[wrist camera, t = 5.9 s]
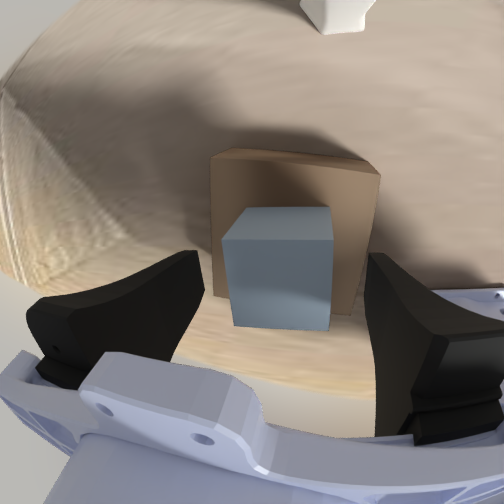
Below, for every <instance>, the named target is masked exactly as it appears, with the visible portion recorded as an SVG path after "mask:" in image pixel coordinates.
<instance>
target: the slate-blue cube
mask: <svg viewBox="0 0 504 504" xmlns="http://www.w3.org/2000/svg"><path fill="white" fill-rule="evenodd" d="M221 241H222V248H223V255H224V262H225V269H226V276H227V283H228V290H229V296H230V303H231V309H232V316H233V322H234V326H240V327H254V328H270V329H289V330H317V331H329V321H330V308H331V292H332V273H333V246H334V239H333V229H332V220H331V211H330V207H249V208H246V209H245V210H244V211H243V213H242V214H241V215H240V216H239V218H238V219H237V220H236V221H235V223H234V224H233V225H232V226H231V228H230V229H229V230H228V232H227V233H226V234H225V235H224V237H223V238H222V239H221Z"/></svg>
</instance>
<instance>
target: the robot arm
mask: <svg viewBox="0 0 504 504" xmlns="http://www.w3.org/2000/svg"><path fill="white" fill-rule="evenodd" d="M204 291H205V288H204V283H203V278H202V273H201V267H200V262H199V257H198V252H197V250H184V251H181V252H178V253H176V254H174V255H172V256H169V257H167V258H165V259H163V260H161V261H159V262H158V263H156V264H154V265H152V266H150V267H148V268H145V269H143V270H141V271H139V272H137V273H135V274H133V275H131V276H128V277H126V278H124V279H121V280H119V281H116V282H113V283H110V284H108V285H104V286H101V287H97V288H94V289H91V290H87V291H82V292H78V293H72V294H67V295H59V296H50V297H43V298H41V299H39V300H38V301H37V302H36V303H35V304H34V305H33V306H31V307H30V308H29V309H28V310H27V312H26V320H27V324H28V327H29V329H30V331H31V333H32V335H33V337H34V338H35V340H36V342H37V343H38V345H39V347H40V348H41V350H42V352H43V354H44V355H45V356H44V358H43V359H42V360H40V359H39V358H38V357H37V356H35V355H33V354H31V353H29V352H27V351H25V350H22V351H21V352H20V353H19V354H18V355H17V356H16V357H15V358H14V359H13V360H12V361H11V363H10V364H9V365H8V366H7V367H6V368H5V369H4V371H2V373H1V374H0V398H1V399H2V400H3V401H4V402H5V403H6V405H7V406H8V407H9V408H10V409H11V410H12V412H13V413H14V414H15V415H16V416H17V417H18V418H19V419H20V420H21V421H22V422H23V423H24V424H25V425H26V426H28V427H29V428H30V429H32V430H33V431H34V432H36V433H37V434H38V435H40V436H41V437H42V438H44V439H45V440H47V441H48V442H49V443H51V444H52V445H54V446H55V447H57V448H58V449H60V450H61V451H62V452H64V453H65V454H67V455H68V456H70V459H69V461H68V462H67V464H66V466H65V467H64V469H63V471H62V472H61V474H60V476H59V477H58V479H57V481H56V482H55V484H54V486H53V488H52V489H51V491H50V493H49V495H48V496H47V498H46V500H45V502H44V503H43V504H504V288H486V289H456V290H430V289H428V288H427V287H425V286H424V285H422V284H421V283H420V282H418V281H417V280H416V279H414V278H413V277H412V276H410V275H409V274H408V273H407V272H406V271H404V270H403V269H402V268H401V267H400V266H398V265H397V264H396V263H395V262H394V261H393V260H392V259H390V258H389V257H388V256H387V255H385V254H384V253H369V255H368V265H367V274H366V283H365V291H364V304H365V315H366V320H367V325H368V330H369V335H370V340H371V345H372V350H373V356H374V363H375V377H376V419H375V437H366V438H334V437H329V436H323V435H318V434H313V433H309V432H304V431H299V430H295V429H291V428H287V427H282V426H279V425H275V424H271V423H267V422H265V421H264V418H263V411H262V404H261V402H260V401H259V399H258V397H257V396H256V394H255V392H254V390H253V389H252V388H251V387H249V386H247V385H246V384H244V383H243V382H241V381H240V380H238V379H237V378H235V377H234V376H232V375H228V374H225V373H222V372H218V371H215V370H212V369H206V368H200V367H194V366H188V365H182V364H176V363H171V362H170V361H171V358H172V356H173V353H174V351H175V349H176V347H177V345H178V343H179V341H180V340H181V338H182V336H183V334H184V333H185V331H186V329H187V327H188V326H189V324H190V322H191V320H192V319H193V317H194V315H195V313H196V311H197V309H198V308H199V305H200V302H201V300H202V297H203V294H204ZM496 294H497V295H496ZM495 295H496V296H495Z"/></svg>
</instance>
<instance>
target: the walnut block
mask: <svg viewBox="0 0 504 504" xmlns="http://www.w3.org/2000/svg"><path fill="white" fill-rule="evenodd" d="M380 178H381V175H380V174H379V172H378V171H377V170H376V169H375V168H374V167H373V166H372V165H371V164H370V163H369V162H367V161H361V160H355V159H348V158H341V157H333V156H325V155H317V154H308V153H298V152H288V151H276V150H262V149H246V148H230V149H228V150H225V151H223V152H221V153H219V154H217V155H215V156H212V157H210V203H211V243H212V270H213V292H214V296H216V297H222V298H228V299H230V296H229V290H228V283H227V276H226V269H225V262H224V255H223V248H222V241H221V239H222V238H223V237H224V235H225V234H226V233H227V232H228V230H229V229H230V228H231V226H232V225H233V224H234V223H235V221H236V220H237V219H238V218H239V216H240V215H241V214H242V213H243V211H244V210H245V209H246V208H249V207H330V211H331V220H332V229H333V239H334V246H333V273H332V292H331V308H330V313H332V314H340V315H349V316H350V315H351V312H352V308H353V304H354V301H355V297H356V293H357V290H358V286H359V282H360V278H361V274H362V270H363V266H364V261H365V257H366V253H367V248H368V244H369V239H370V234H371V229H372V224H373V219H374V214H375V209H376V203H377V197H378V191H379V185H380Z"/></svg>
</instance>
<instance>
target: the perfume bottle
mask: <svg viewBox="0 0 504 504" xmlns="http://www.w3.org/2000/svg"><path fill="white" fill-rule="evenodd" d="M375 1H376V0H301V1H300V4H299V5H300V7H301V8H302V9H303V11H304V12H305V13H306V14H307V16H308V17H309V18H310V20H311V21H312V22H313V24H314V25H315V26H316V28H317V29H318V31H319V32H320V33H321V34H323V35H327V34H336V33H347V32H360V31H363V30H364V27H365V13H366V12H367V11H368V9H369V8H370V7H371V6H372V4H373V3H374V2H375Z"/></svg>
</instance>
